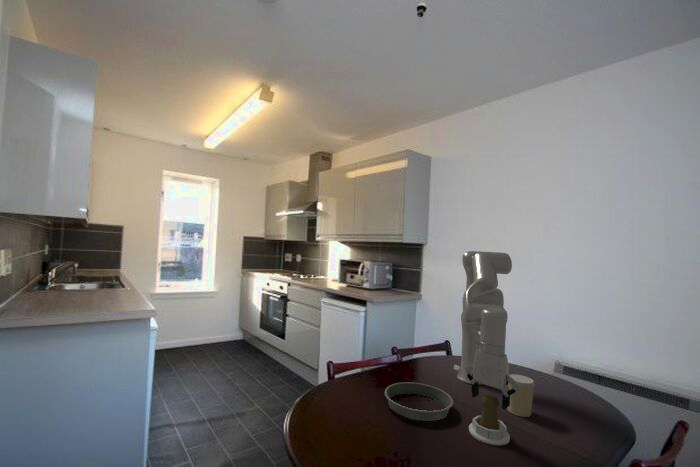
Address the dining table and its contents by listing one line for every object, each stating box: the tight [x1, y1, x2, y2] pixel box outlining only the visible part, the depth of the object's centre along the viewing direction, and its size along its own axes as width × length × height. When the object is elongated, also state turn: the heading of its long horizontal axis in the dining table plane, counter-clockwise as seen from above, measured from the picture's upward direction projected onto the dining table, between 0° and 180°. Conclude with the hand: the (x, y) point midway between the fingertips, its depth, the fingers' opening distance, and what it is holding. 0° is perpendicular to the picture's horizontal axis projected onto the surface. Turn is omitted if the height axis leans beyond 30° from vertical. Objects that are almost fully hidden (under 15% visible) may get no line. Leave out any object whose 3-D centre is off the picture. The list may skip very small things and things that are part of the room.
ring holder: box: [468, 414, 511, 447], centre depth 106 cm, size 12×12×4 cm
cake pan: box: [384, 381, 454, 421], centre depth 122 cm, size 25×25×4 cm
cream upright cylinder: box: [506, 373, 535, 418], centre depth 123 cm, size 9×9×12 cm
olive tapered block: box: [479, 393, 500, 430], centre depth 106 cm, size 6×6×11 cm
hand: (489, 401), depth 107 cm, fingers open, 9 cm apart
